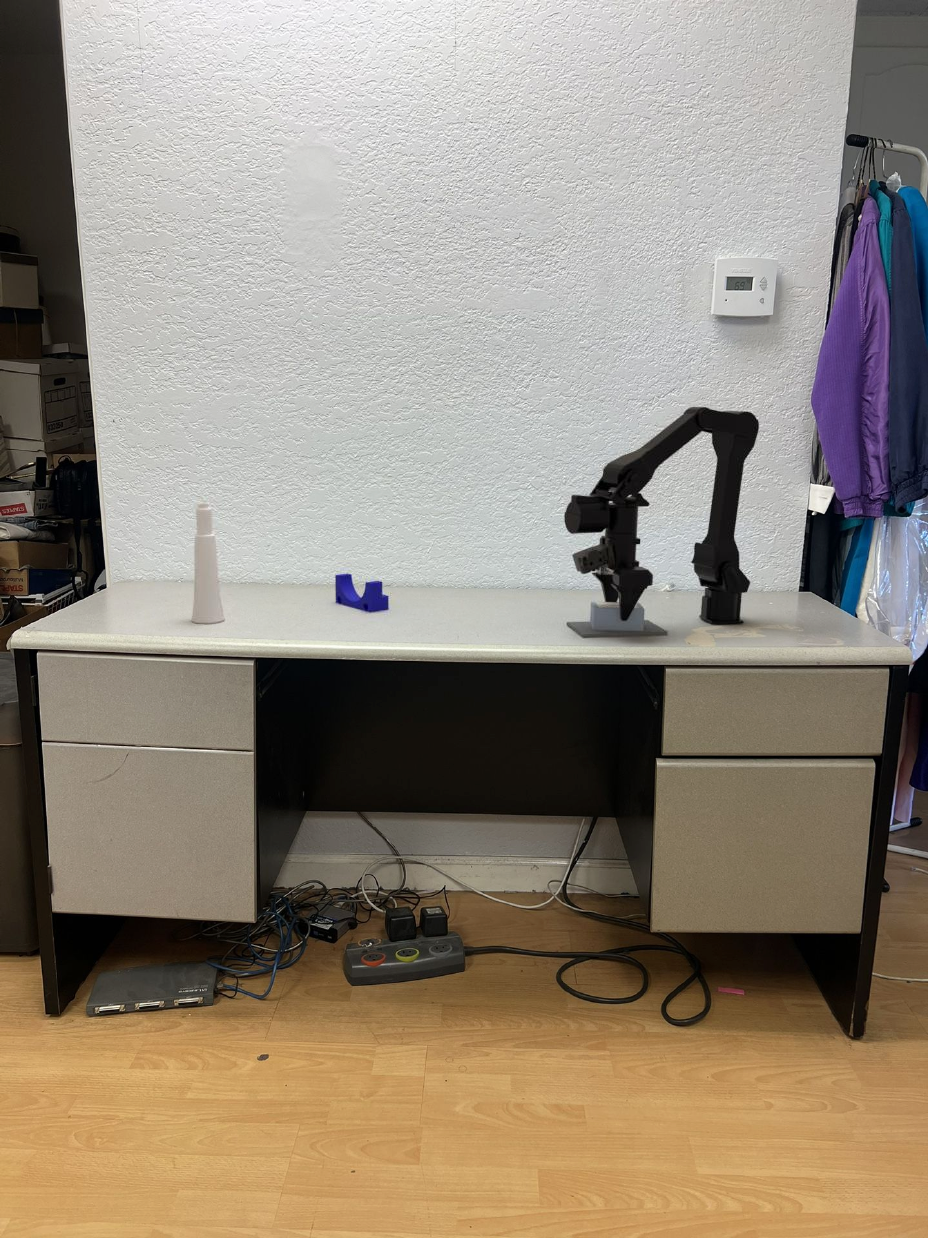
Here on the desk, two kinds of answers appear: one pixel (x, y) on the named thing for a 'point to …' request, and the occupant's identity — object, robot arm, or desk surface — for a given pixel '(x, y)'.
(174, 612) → the desk surface
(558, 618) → the desk surface
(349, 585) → the cable clip
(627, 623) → the card deck
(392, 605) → the desk surface
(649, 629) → the mat
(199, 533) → the cosmetic bottle
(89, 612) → the desk surface
